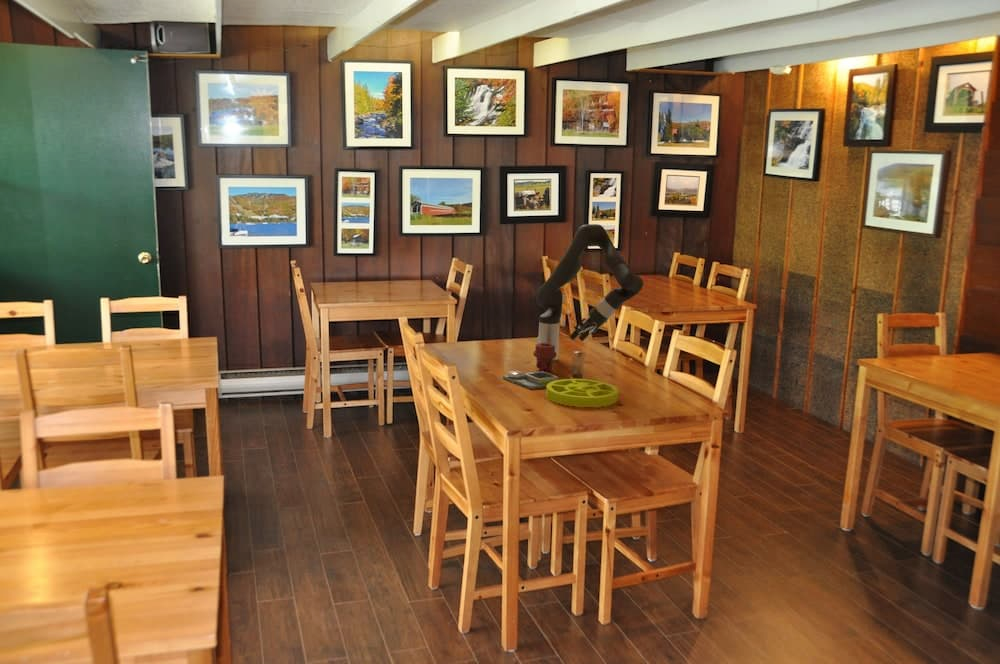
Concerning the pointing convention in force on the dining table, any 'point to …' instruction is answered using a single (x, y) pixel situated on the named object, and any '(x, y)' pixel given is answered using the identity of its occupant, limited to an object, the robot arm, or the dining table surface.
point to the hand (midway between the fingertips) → (575, 338)
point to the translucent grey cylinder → (578, 365)
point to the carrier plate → (531, 379)
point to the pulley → (581, 392)
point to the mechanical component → (544, 356)
